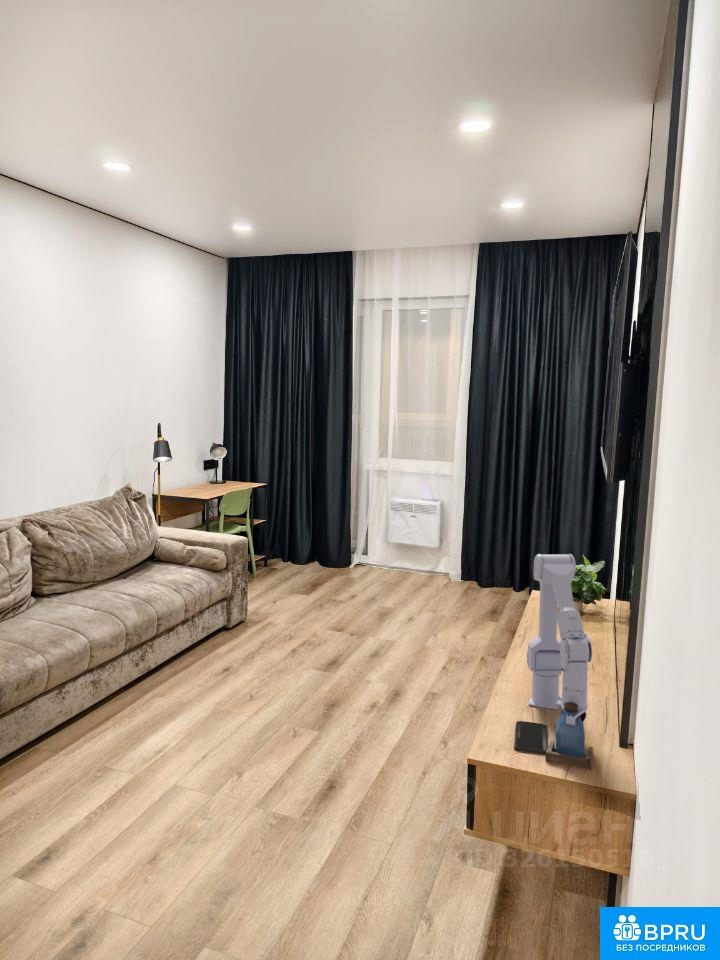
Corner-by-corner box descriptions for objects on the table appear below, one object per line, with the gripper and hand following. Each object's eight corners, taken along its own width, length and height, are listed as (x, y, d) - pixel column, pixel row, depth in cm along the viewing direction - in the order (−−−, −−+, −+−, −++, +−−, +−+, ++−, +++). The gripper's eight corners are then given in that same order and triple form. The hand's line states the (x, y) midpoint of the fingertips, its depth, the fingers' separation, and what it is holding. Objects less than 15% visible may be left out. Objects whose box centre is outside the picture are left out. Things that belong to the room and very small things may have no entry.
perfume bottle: (582, 747, 157) (584, 700, 156) (584, 761, 151) (585, 712, 150) (555, 744, 159) (556, 697, 157) (556, 757, 153) (557, 709, 151)
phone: (547, 724, 168) (547, 751, 154) (547, 728, 169) (547, 756, 154) (515, 720, 171) (513, 747, 156) (515, 724, 171) (513, 751, 156)
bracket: (550, 746, 158) (550, 738, 158) (593, 755, 154) (593, 747, 154) (545, 760, 151) (545, 752, 151) (590, 769, 147) (591, 761, 147)
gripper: (561, 673, 166) (560, 725, 167) (553, 695, 152) (551, 751, 154) (590, 678, 163) (589, 730, 164) (585, 700, 150) (583, 757, 151)
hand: (573, 740), depth 159 cm, fingers closed, pressing on perfume bottle
